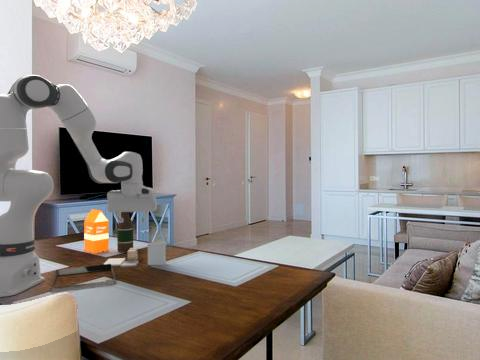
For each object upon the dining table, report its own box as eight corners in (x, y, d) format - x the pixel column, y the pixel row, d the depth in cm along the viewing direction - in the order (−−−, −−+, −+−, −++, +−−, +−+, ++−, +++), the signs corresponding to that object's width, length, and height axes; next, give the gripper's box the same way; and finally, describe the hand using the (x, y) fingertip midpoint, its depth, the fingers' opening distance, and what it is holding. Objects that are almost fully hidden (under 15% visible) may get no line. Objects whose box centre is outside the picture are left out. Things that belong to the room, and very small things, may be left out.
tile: (165, 264, 140) (165, 243, 140) (147, 265, 140) (147, 243, 139) (165, 263, 142) (165, 242, 142) (148, 264, 141) (148, 242, 141)
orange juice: (93, 253, 160) (93, 211, 159) (84, 251, 165) (83, 209, 165) (109, 250, 166) (108, 209, 166) (99, 248, 171) (98, 208, 171)
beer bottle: (136, 249, 169) (136, 200, 168) (129, 252, 161) (129, 202, 161) (121, 248, 170) (120, 200, 169) (114, 252, 162) (113, 202, 161)
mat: (120, 265, 139) (120, 264, 139) (102, 266, 138) (102, 264, 138) (125, 259, 149) (125, 258, 149) (109, 259, 148) (108, 258, 148)
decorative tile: (115, 288, 115) (114, 270, 134) (115, 279, 115) (114, 262, 134) (48, 296, 108) (56, 276, 127) (47, 287, 108) (56, 268, 127)
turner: (136, 266, 138) (135, 254, 138) (120, 267, 137) (120, 254, 137) (140, 259, 150) (140, 247, 150) (126, 259, 149) (126, 248, 149)
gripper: (104, 190, 141) (105, 223, 142) (155, 190, 144) (155, 222, 144) (108, 189, 147) (109, 221, 148) (157, 189, 150) (157, 220, 150)
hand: (132, 222), depth 146 cm, fingers open, 8 cm apart
